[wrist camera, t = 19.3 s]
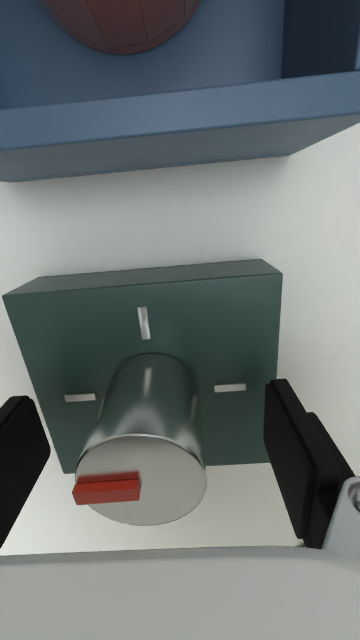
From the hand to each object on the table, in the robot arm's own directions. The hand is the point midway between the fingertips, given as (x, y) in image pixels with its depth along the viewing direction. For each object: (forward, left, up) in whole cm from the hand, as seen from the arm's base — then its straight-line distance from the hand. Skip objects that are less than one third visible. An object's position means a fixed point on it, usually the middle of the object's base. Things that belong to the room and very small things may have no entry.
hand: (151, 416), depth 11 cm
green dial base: (0, 0, -5) cm, 5 cm away
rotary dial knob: (0, 0, -2) cm, 2 cm away
